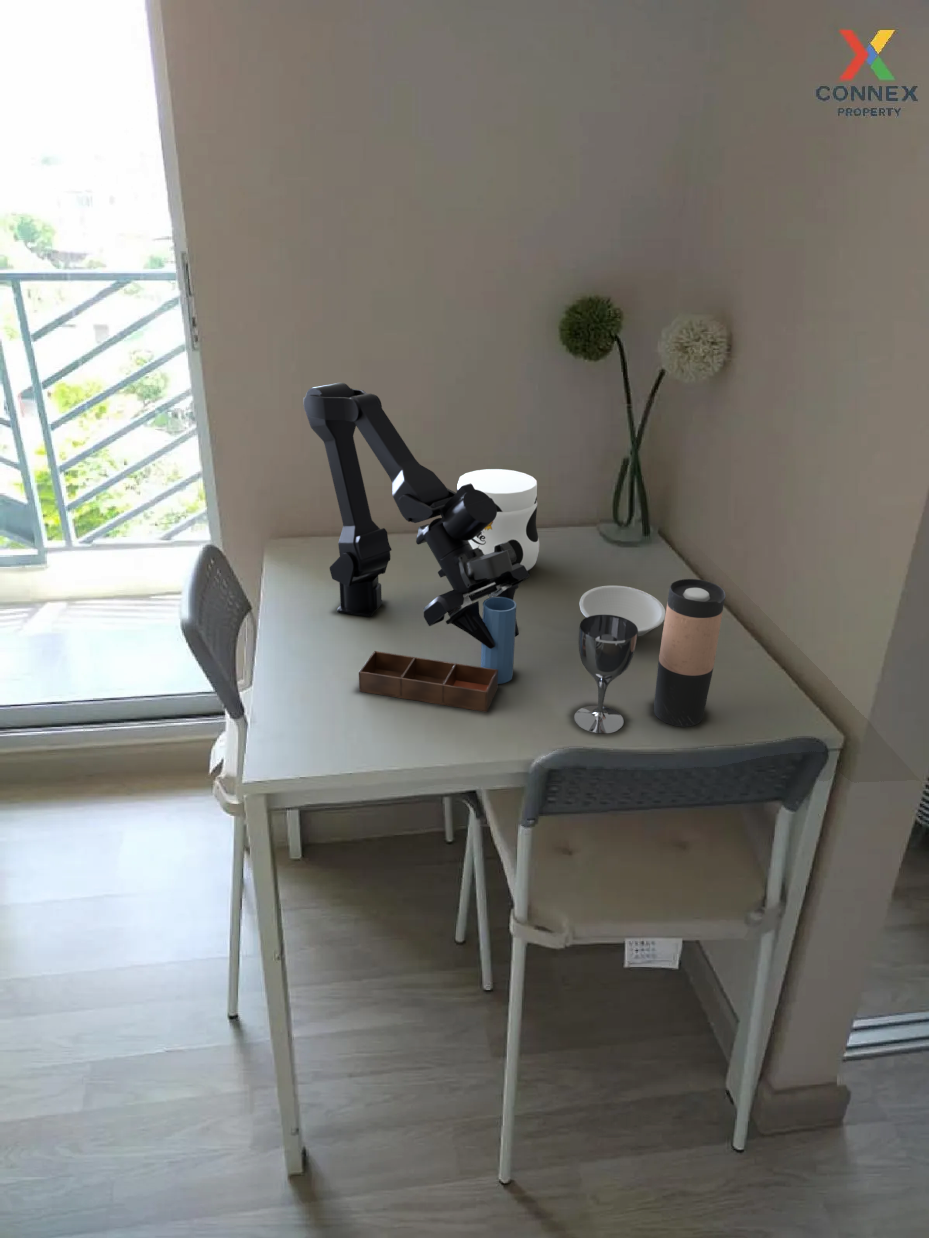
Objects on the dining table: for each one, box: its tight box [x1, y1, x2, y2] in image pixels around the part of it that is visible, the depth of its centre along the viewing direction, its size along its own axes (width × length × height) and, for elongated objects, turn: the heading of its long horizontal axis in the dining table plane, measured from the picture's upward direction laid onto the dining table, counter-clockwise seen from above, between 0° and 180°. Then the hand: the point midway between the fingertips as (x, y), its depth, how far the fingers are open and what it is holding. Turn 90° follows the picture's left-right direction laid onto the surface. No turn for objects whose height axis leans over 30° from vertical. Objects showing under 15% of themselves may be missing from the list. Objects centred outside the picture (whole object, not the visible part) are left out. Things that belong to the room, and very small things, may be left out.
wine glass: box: [573, 615, 639, 734], centre depth 123 cm, size 8×8×15 cm
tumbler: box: [480, 597, 518, 685], centre depth 134 cm, size 5×5×12 cm
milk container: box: [456, 468, 540, 572], centre depth 171 cm, size 17×17×18 cm
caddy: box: [358, 650, 499, 713], centre depth 132 cm, size 20×7×3 cm, turn 75°
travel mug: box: [653, 578, 726, 727], centre depth 124 cm, size 8×8×20 cm
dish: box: [578, 585, 666, 638], centre depth 149 cm, size 18×14×5 cm
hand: (504, 641), depth 133 cm, fingers closed on tumbler, 5 cm apart
